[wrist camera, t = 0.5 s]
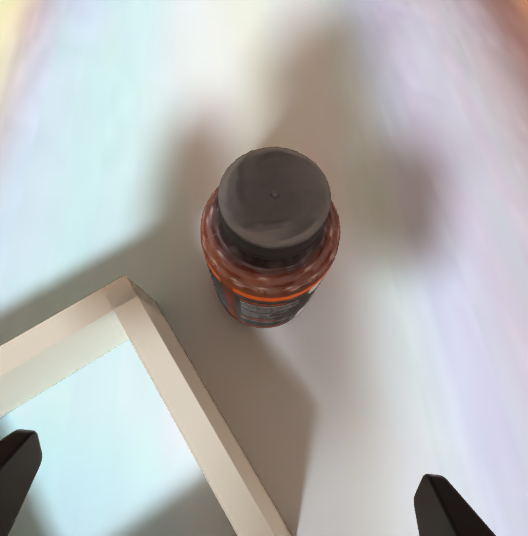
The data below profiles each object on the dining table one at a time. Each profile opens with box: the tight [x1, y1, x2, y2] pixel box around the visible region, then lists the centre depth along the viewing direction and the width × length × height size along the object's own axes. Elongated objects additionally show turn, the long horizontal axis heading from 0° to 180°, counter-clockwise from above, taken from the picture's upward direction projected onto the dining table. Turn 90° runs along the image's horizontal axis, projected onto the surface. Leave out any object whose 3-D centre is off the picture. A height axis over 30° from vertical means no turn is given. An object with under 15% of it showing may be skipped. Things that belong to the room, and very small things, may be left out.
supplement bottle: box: [201, 147, 340, 328], centre depth 18 cm, size 6×6×11 cm
